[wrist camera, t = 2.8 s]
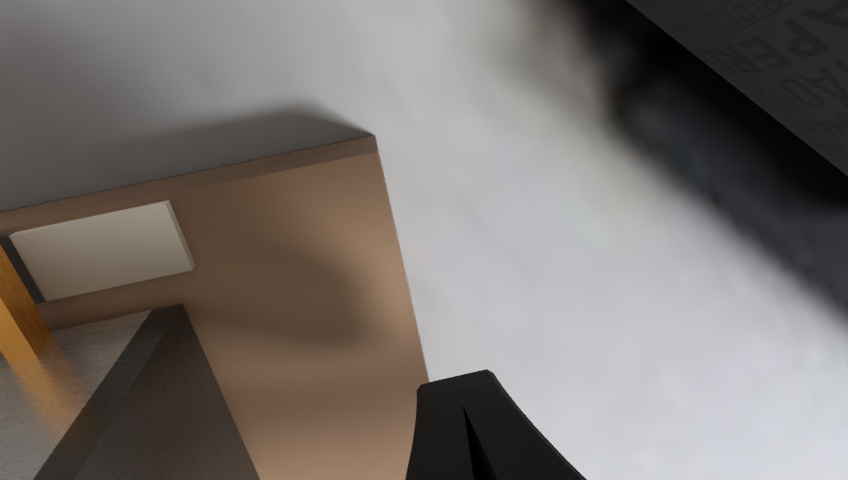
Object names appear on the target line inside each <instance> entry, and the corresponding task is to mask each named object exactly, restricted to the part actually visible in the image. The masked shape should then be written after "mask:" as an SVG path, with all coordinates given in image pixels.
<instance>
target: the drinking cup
mask: <svg viewBox="0 0 848 480" xmlns="http://www.w3.org/2000/svg"><path fill="white" fill-rule="evenodd" d="M626 1H627V2H629V3H630V4H631V5H632V6H634V7H635V8H636V9H637V10H639V11H640V12H641V13H642V14H644V15H645V16H646V17H647V18H649V19H650V20H651V21H653V22H654V23H655V24H656V25H658V26H659V27H660V28H661V29H663V30H664V31H665V32H666V33H668V34H669V35H670V36H671V37H673V38H674V39H675V40H676V41H678V42H679V43H680V44H682V45H683V46H684V47H685V48H687V49H688V50H689V51H690V52H692V53H693V54H694V55H695V56H697V57H698V58H699V59H700V60H702V61H703V62H704V63H705V64H707V65H708V66H709V67H711V68H712V69H713V70H714V71H716V72H717V73H718V74H719V75H721V76H722V77H723V78H724V79H726V80H727V81H728V82H729V83H731V84H732V85H733V86H735V87H736V88H737V89H738V90H740V91H741V92H742V93H743V94H745V95H746V96H747V97H748V98H750V99H751V100H752V101H753V102H755V103H756V104H757V105H758V106H760V107H761V108H762V109H764V110H765V111H766V112H767V113H769V114H770V115H771V116H772V117H774V118H775V119H776V120H777V121H779V122H780V123H781V124H782V125H784V126H785V127H786V128H788V129H789V130H790V131H791V132H793V133H794V134H795V135H796V136H798V137H799V138H800V139H801V140H803V141H804V142H805V143H806V144H808V145H809V146H810V147H811V148H813V149H814V150H815V151H817V152H818V153H819V154H820V155H822V156H823V157H824V158H825V159H827V160H828V161H829V162H830V163H832V164H833V165H834V166H835V167H837V168H838V169H839V170H840V171H842V172H843V173H844V174H846V175H847V176H848V0H626Z"/></svg>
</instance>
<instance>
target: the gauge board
mask: <svg viewBox="0 0 848 480" xmlns="http://www.w3.org/2000/svg"><path fill="white" fill-rule="evenodd" d="M0 245H1V247H2V248H3V250H4V252H5V253H6V255H7V257H8V259H9V260H10V262H11V264H12V265H13V267H14V269H15V271H16V272H17V274H18V276H19V277H20V279H21V281H22V283H23V284H24V286H25V288H26V289H27V291H28V293H29V295H30V296H31V298H32V300H33V301H34V303H35V305H36V307H37V308H38V310H39V312H40V313H41V315H42V317H43V319H44V320H45V322H46V324H47V325H48V327H49V329H50V331H56V330H60V329H65V328H69V327H74V326H79V325H83V324H88V323H93V322H97V321H102V320H107V319H111V318H116V317H120V316H125V315H130V314H134V313H139V312H144V311H148V310H153V309H157V308H162V307H167V306H171V305H176V304H181V303H183V306H184V308H185V310H186V312H187V315H188V317H189V319H190V321H191V324H192V326H193V328H194V331H195V333H196V335H197V337H198V340H199V342H200V344H201V346H202V349H203V351H204V353H205V355H206V358H207V360H208V362H209V365H210V367H211V369H212V371H213V374H214V376H215V378H216V380H217V383H218V385H219V387H220V389H221V392H222V394H223V396H224V399H225V401H226V403H227V405H228V408H229V410H230V412H231V414H232V417H233V419H234V421H235V424H236V426H237V428H238V430H239V433H240V435H241V437H242V439H243V442H244V444H245V446H246V448H247V451H248V453H249V455H250V458H251V460H252V462H253V464H254V467H255V469H256V471H257V473H258V476H259V478H260V480H405V478H406V473H407V468H408V463H409V458H410V453H411V448H412V442H413V435H414V428H415V420H416V407H417V393H416V390H417V389H418V388H419V387H420V385H421V384H424V383H429V378H428V374H427V369H426V365H425V360H424V356H423V351H422V347H421V342H420V338H419V333H418V328H417V324H416V319H415V315H414V310H413V306H412V301H411V297H410V292H409V288H408V283H407V279H406V274H405V269H404V265H403V260H402V256H401V251H400V247H399V242H398V238H397V233H396V229H395V224H394V219H393V215H392V210H391V206H390V201H389V197H388V192H387V188H386V183H385V179H384V174H383V170H382V165H381V160H380V156H379V151H378V147H377V142H376V138H375V135H373V136H368V137H363V138H358V139H353V140H349V141H344V142H339V143H334V144H329V145H324V146H319V147H315V148H310V149H305V150H300V151H295V152H290V153H285V154H281V155H276V156H271V157H266V158H261V159H256V160H251V161H247V162H242V163H237V164H232V165H227V166H222V167H217V168H213V169H208V170H203V171H198V172H193V173H188V174H183V175H179V176H174V177H169V178H164V179H159V180H154V181H150V182H145V183H140V184H135V185H130V186H125V187H120V188H116V189H111V190H106V191H101V192H96V193H91V194H86V195H82V196H77V197H72V198H67V199H62V200H57V201H52V202H48V203H43V204H38V205H33V206H28V207H23V208H18V209H14V210H9V211H4V212H0Z"/></svg>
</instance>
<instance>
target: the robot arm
mask: <svg viewBox="0 0 848 480" xmlns="http://www.w3.org/2000/svg"><path fill="white" fill-rule="evenodd" d="M416 393H417V407H416V420H415V428H414V435H413V442H412V448H411V453H410V458H409V463H408V468H407V473H406V478H405V480H587V479H585V478H584V477H583V476H582V475H581V474H580V473H579V472H578V471H577V470H576V469H575V468H574V467H573V466H572V465H571V464H570V463H569V462H568V461H567V460H566V459H565V458H564V457H563V456H562V455H561V454H560V453H559V451H558V450H557V449H556V448H555V447H554V446H553V445H552V444H551V443H550V442H549V441H548V440H547V439H546V438H545V437H544V436H543V435H542V434H541V432H540V431H539V430H538V429H537V428H536V427H535V426H534V425H533V424H532V422H531V421H530V420H529V419H528V418H527V417H526V415H525V414H524V413H523V412H522V411H521V409H520V408H519V407H518V406H517V405H516V403H515V402H514V401H513V400H512V398H511V397H510V396H509V395H508V393H507V392H506V391H505V389H504V388H503V387H502V385H501V384H500V382H499V381H498V379H497V378H496V376H495V375H494V373H492V372H490V371H489V370H487V369H486V370H482V371H478V372H473V373H469V374H464V375H460V376H455V377H451V378H447V379H442V380H438V381H433V382H429V383H424V384H421V385H420V387H419V388H418V389H417V390H416Z"/></svg>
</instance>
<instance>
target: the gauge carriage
mask: <svg viewBox="0 0 848 480" xmlns="http://www.w3.org/2000/svg"><path fill="white" fill-rule="evenodd" d="M0 480H260V478H259V476H258V473H257V471H256V469H255V467H254V464H253V462H252V460H251V458H250V455H249V453H248V451H247V448H246V446H245V444H244V442H243V439H242V437H241V435H240V433H239V430H238V428H237V426H236V424H235V421H234V419H233V417H232V414H231V412H230V410H229V408H228V405H227V403H226V401H225V399H224V396H223V394H222V392H221V389H220V387H219V385H218V383H217V380H216V378H215V376H214V374H213V371H212V369H211V367H210V365H209V362H208V360H207V358H206V355H205V353H204V351H203V349H202V346H201V344H200V342H199V340H198V337H197V335H196V333H195V331H194V328H193V326H192V324H191V321H190V319H189V317H188V315H187V312H186V310H185V308H184V306H183V303H181V304H176V305H171V306H167V307H162V308H157V309H153V310H148V311H144V312H139V313H134V314H130V315H125V316H120V317H116V318H111V319H107V320H102V321H97V322H93V323H88V324H83V325H79V326H74V327H69V328H65V329H60V330H56V331H50V329H49V327H48V325H47V324H46V322H45V320H44V319H43V317H42V315H41V313H40V312H39V310H38V308H37V307H36V305H35V303H34V301H33V300H32V298H31V296H30V295H29V293H28V291H27V289H26V288H25V286H24V284H23V283H22V281H21V279H20V277H19V276H18V274H17V272H16V271H15V269H14V267H13V265H12V264H11V262H10V260H9V259H8V257H7V255H6V253H5V252H4V250H3V248H2V247H1V245H0Z"/></svg>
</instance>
